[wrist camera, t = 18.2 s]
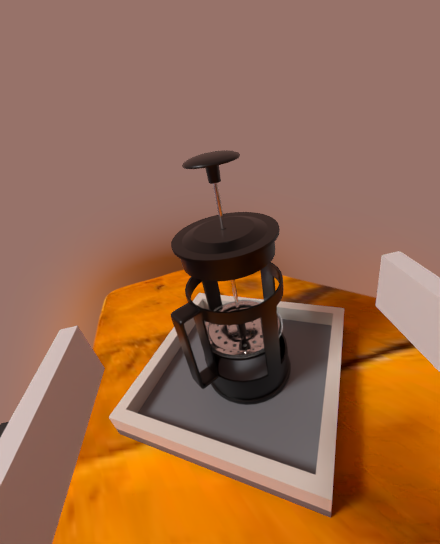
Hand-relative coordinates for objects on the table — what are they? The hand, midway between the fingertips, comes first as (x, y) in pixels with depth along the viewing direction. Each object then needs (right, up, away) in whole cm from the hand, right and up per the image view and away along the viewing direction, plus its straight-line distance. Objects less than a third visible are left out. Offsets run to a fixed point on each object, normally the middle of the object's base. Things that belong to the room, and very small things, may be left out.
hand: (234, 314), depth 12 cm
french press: (+2, -9, +19) cm, 22 cm away
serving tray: (+2, -10, +20) cm, 22 cm away
